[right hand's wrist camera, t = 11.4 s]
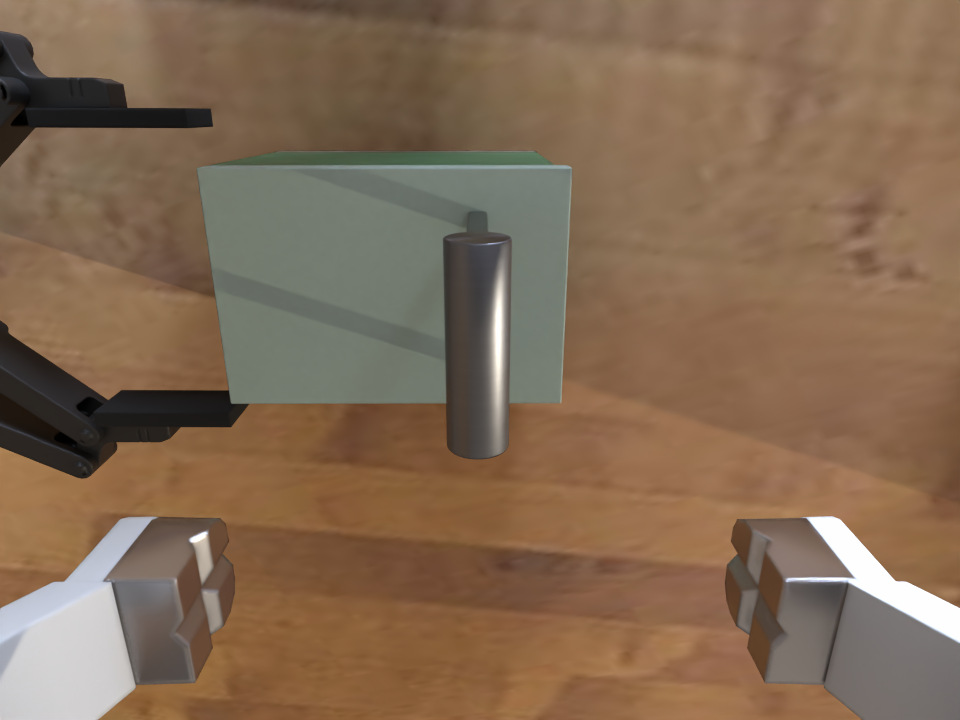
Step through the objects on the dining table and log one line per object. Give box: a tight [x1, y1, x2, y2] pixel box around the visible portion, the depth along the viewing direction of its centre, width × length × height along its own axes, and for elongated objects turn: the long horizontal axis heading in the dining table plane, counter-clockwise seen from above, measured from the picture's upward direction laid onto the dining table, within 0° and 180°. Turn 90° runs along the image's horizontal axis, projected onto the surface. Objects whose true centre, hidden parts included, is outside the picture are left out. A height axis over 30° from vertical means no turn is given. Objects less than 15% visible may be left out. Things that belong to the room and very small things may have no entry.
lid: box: [197, 165, 572, 459], centre depth 23 cm, size 14×9×8 cm
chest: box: [213, 151, 554, 165], centre depth 31 cm, size 13×10×10 cm
